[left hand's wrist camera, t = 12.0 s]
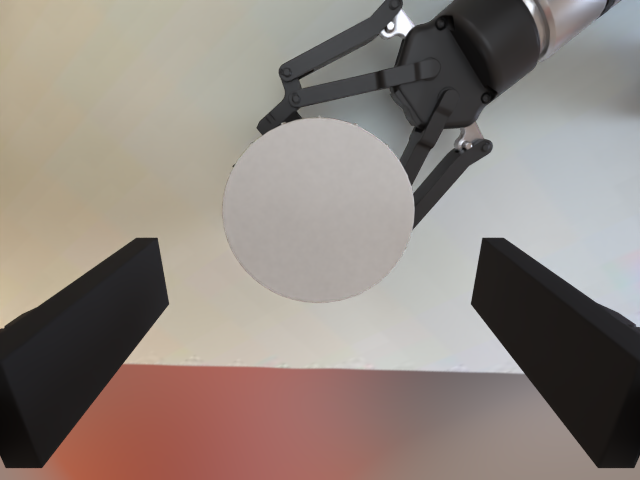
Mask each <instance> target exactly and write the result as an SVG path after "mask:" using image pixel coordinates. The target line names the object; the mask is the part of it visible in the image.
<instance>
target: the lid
mask: <svg viewBox="0 0 640 480" xmlns="http://www.w3.org/2000/svg"><path fill="white" fill-rule="evenodd" d="M414 211H415V209H414V197H413V192H412V188H411V184H410V181H409V179H408V175H407V173H406V172H405V170H404V168H403V166H402V164H401V162H400V161H399V160H398V158H397V157H396V156H395V154H394V153H393V152H392V151H391V150H390V149H389V146H388V145H387V144H385V143H384V142H382V141H381V140H380V139H378V138H377V137H376V136H375V135H373V134H372V133H370V132H368V131H366V130H364V129H363V128H361V127H359V126H358V124H356V123H354V124H351V123H349V122H346V121H342V120H338V119H334V118H324V117H321V116H319V117H314V118H304V119H299V120H294V121H291V122H288V123H286V122H283V123H281V125H280V126H278V127H276V128H274V129H272V130H270V131H268V132H267V133H265V134H264V135H262V136H261V137H260V138H258V139H257V140H256V141H254V142H252V143H250V146H249V147H248V148H247V149H246V150H245V152H244V153H243V154H242V155H241V156H240V158H239V159H238V161H237V162H236V164H235V166H234V167H233V169H232V171H231V172H230V176H229V178H228V181H227V184H226V188H225V191H224V197H223V223H224V229H225V233H226V237H227V240H228V242H229V245H230V247H231V249H232V252H233V253H234V255H235V257H236V258H237V260H238V262H239V263H240V264H241V265H242V267H243V268H244V269H245V270H246V271H247V272H248V273H249V274H250V275H251V276H252V277H253V278H254V279H255V280H256V281H257V282H259V283H260V284H261V285H263V286H264V287H266V288H267V289H269V290H271V291H272V292H275V293H277V294H279V295H281V296H284V297H287V298H290V299H293V300H298V301H303V302H312V303H325V302H334V301H340V300H343V299H347V298H351V297H353V296H356V295H358V294H361V293H362V292H364V291H366V290H368V289H370V288H371V287H373V286H374V285H376V284H377V283H378V282H380V281H381V280H382V279H383V278H384V277H385V276H387V275H388V274H389V273H390V271H391V270H392V269H393V268H394V267H395V266H396V264H397V263H398V261H399V260H400V258H401V257H402V255H403V253H404V251H405V249H406V247H407V245H408V242H409V239H410V236H411V234H412V229H413V223H414Z"/></svg>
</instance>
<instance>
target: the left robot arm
mask: <svg viewBox="0 0 640 480" xmlns="http://www.w3.org/2000/svg"><path fill="white" fill-rule="evenodd" d="M168 305H169V301H168V295H167V289H166V284H165V278H164V272H163V266H162V261H161V255H160V249H159V244H158V238H135V239H134V240H133V241H131V242H130V243H128V244H127V245H125V246H124V247H123V248H121V249H120V250H118V251H117V252H115V253H114V254H113V255H111V256H110V257H108V258H107V259H105V260H104V261H103V262H101V263H100V264H98V265H97V266H95V267H94V268H93V269H91V270H90V271H88V272H87V273H85V274H84V275H83V276H81V277H80V278H78V279H77V280H75V281H74V282H73V283H71V284H70V285H68V286H67V287H65V288H64V289H63V290H61V291H60V292H58V293H57V294H55V295H54V296H53V297H51V298H50V299H48V300H47V301H45V302H44V303H43V304H41V305H40V306H38V307H37V308H34V309H32V310H30V311H28V312H26V313H24V314H22V315H20V316H19V317H17V318H16V319H14V320H13V321H11V322H10V323H8V324H7V325H6V326H5V328H4V329H0V456H1V458H2V460H3V463H4V465H5V467H6V468H42V467H43V466H44V465H45V463H46V462H47V461H48V460H49V458H50V457H51V456H52V454H53V453H54V452H55V451H56V449H57V448H58V447H59V445H60V444H61V443H62V442H63V440H64V439H65V438H66V436H67V435H68V434H69V433H70V431H71V430H72V429H73V427H74V426H75V425H76V423H77V422H78V421H79V420H80V418H81V417H82V416H83V414H84V413H85V412H86V411H87V409H88V408H89V407H90V405H91V404H92V403H93V402H94V400H95V399H96V398H97V396H98V395H99V394H100V392H101V391H102V390H103V389H104V387H105V386H106V385H107V384H108V382H109V381H110V380H111V378H112V377H113V376H114V374H115V373H116V372H117V371H118V369H119V368H120V367H121V365H122V364H123V363H124V362H125V360H126V359H127V358H128V356H129V355H130V354H131V353H132V351H133V350H134V349H135V347H136V346H137V345H138V344H139V342H140V341H141V340H142V338H143V337H144V336H145V335H146V333H147V332H148V331H149V329H150V328H151V327H152V325H153V324H154V323H155V322H156V320H157V319H158V318H159V316H160V315H161V314H162V313H163V311H164V310H165V309H166V307H167V306H168ZM471 305H472V306H473V307H474V309H475V310H476V311H477V313H478V314H479V315H480V316H481V318H482V319H483V320H484V322H485V323H486V324H487V325H488V327H489V328H490V329H491V331H492V332H493V333H494V335H495V336H496V337H497V338H498V340H499V341H500V342H501V344H502V345H503V346H504V347H505V349H506V350H507V351H508V353H509V354H510V355H511V356H512V358H513V359H514V360H515V362H516V363H517V364H518V365H519V367H520V368H521V369H522V371H523V372H524V373H525V374H526V376H527V377H528V378H529V380H530V381H531V382H532V383H533V385H534V386H535V387H536V389H537V390H538V391H539V393H540V394H541V395H542V396H543V398H544V399H545V400H546V402H547V403H548V404H549V405H550V407H551V408H552V409H553V411H554V412H555V413H556V414H557V416H558V417H559V418H560V420H561V421H562V422H563V423H564V425H565V426H566V427H567V429H568V430H569V431H570V433H571V434H572V435H573V436H574V438H575V439H576V440H577V442H578V443H579V444H580V445H581V447H582V448H583V449H584V450H585V452H586V453H587V454H588V456H589V457H590V458H591V460H592V461H593V462H594V463H595V465H596V466H597V467H598V468H634V467H635V465H636V463H637V460H638V458H639V456H640V327H636V324H634V323H633V322H631V321H630V320H628V319H627V318H625V317H624V316H622V315H621V314H619V313H618V312H615V311H613V310H611V309H609V308H607V307H604V306H602V305H600V304H598V303H596V302H595V301H593V300H592V299H590V298H589V297H587V296H586V295H585V294H583V293H582V292H580V291H579V290H577V289H576V288H575V287H573V286H572V285H570V284H569V283H567V282H566V281H565V280H563V279H562V278H560V277H559V276H557V275H556V274H555V273H553V272H552V271H550V270H549V269H547V268H546V267H545V266H543V265H542V264H540V263H539V262H537V261H536V260H535V259H533V258H532V257H530V256H529V255H527V254H526V253H525V252H523V251H522V250H520V249H519V248H517V247H516V246H515V245H513V244H512V243H510V242H509V241H507V240H506V239H505V238H482V244H481V249H480V255H479V261H478V266H477V272H476V278H475V284H474V289H473V295H472V301H471Z"/></svg>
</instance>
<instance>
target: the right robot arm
mask: <svg viewBox="0 0 640 480" xmlns="http://www.w3.org/2000/svg"><path fill="white" fill-rule="evenodd" d="M620 1H621V0H454V1H453V2H452V3H451V4H450V5H448V6H447V7H446V8H445V9H444V10H443V11H442V12H440V13H439V14H438V15H437V16H436V17H435V18H434V19H432V20H431V21H430V22H428V23H425V24H420V25H417V26H415V24H414V23H413V22H412V21H411V19H410V18H409V17H408V16H407V14H406V13H405V12H404V11H403V9H402V5H403V2H402V0H385V1H384V2H383V4H382V5H381V6H380V7H379V8H378V9H377V10H376V11H375V13H374V14H373V15H372V16H371V17H370V18H368V19H366V20H364V21H362V22H361V23H359V24H357V25H355V26H353V27H351V28H349V29H348V30H346V31H344V32H342V33H340V34H338V35H336V36H335V37H333V38H331V39H329V40H327V41H325V42H323V43H322V44H320V45H318V46H316V47H314V48H312V49H310V50H308V51H307V52H305V53H303V54H301V55H299V56H297V57H295V58H294V59H292V60H290V61H288V62H286V63H284V64H283V65H282V66H280V68H279V76H280V78H281V80H282V83H283V86H284V89H285V97H284V99H283V100H282V101H281V102H280V103H279V104H278V105H277V106H276V107H275V108H274V109H273V110H272V111H271V112H269V113H268V114H267V115H266V116H265V117H264V118H263V119H262V120H261V121H260V122H259V124H258V126H257V129H258V130H259V132H260V133H261V134H262V135H264V134H265V133H267V132H268V131H270V130H272V129H274V128H276V127H278V126H280V125H281V123H283V122H286V123H288V122H291V121H294V120H299V119H302V118H301V116H300V115H299V114H298V112H297V110H298V109H299V108H300V107H304V106H309V105H313V104H318V103H322V102H327V101H331V100H336V99H340V98H345V97H349V96H354V95H358V94H363V93H367V92H372V91H376V90H381V89H385V88H390V92H391V93H390V95H391V97H392V98H393V100H394V101H395V102H396V103H397V104H398V105H400V106H401V107H402V108H403V110H404V113H405V116H406V118H407V120H408V121H409V123H410V124H411V125H413V126H415V127H414V129H413V131H412V133H411V135H410V138H409V142H408V145H407V147H406V149H405V151H404V153H403V155H402V157H401V159H400V162H401V164H402V166H403V168H404V170H405V172H406V173H407V175H408V179H409V181H410V184H411V186H412V184H413V182H414V180H415V178H416V176H417V174H418V172H419V170H420V168H421V166H422V164H423V162H424V161H425V159H426V157H427V155H428V153H429V151H430V150H431V149H432V148H433V147H434V145H435V144H436V142H437V140H438V138H439V136H440V134H441V132H442V130H443V129H453V128H460V130H461V133H460V135H459V137H458V138H457V139H456V140H455V142H454V149H453V150H451V151H450V152H449V153H448V154H447V155H446V156H445V157H444V158H443V159H442V161H441V162H440V163H439V164H438V165H437V166H436V168H435V169H434V170H433V171H432V172H431V173H430V175H429V176H428V177H427V178H426V179H425V181H424V182H423V183H422V184H421V185H420V186H419V188H418V189H417V190H416V191H415V192H414V194H413V197H414V209H415V211H414V223H413V229H414V228H415V227H416V225H417V224H418V223H419V222H420V221H421V220H422V219H423V217H424V216H425V215H426V214H427V213H428V212H429V211H430V210H431V208H432V207H433V206H434V205H435V204H436V203H437V202H438V200H439V199H440V198H441V197H442V196H443V195H444V194H445V192H446V191H447V190H448V189H449V188H450V187H451V186H452V184H453V183H454V182H455V181H456V180H457V179H458V178H459V177H460V175H461V174H462V173H463V172H464V171H465V170H466V169H467V167H468V166H469V165H471V164H473V163H474V162H476V161H478V160H479V159H481V158H483V157H484V156H486V155H487V154H489V153H490V152H491V150H492V148H493V145H492V142H491V141H489V140H486V139H484V138H483V136H482V134H481V132H480V130H479V128H478V125H477V123H476V120H477V118H478V117H479V114H480V113H481V111H482V110H483V108H484V107H485V106H486V105H487V104H489V103H490V102H491V101H493V100H494V99H495V98H497V97H498V96H499V95H501V94H502V93H503V92H504V91H506V90H507V89H508V88H510V87H511V86H512V85H513V84H515V83H516V82H517V81H519V80H520V79H521V78H522V77H524V76H525V75H526V74H528V73H529V72H530V71H531V70H532V69H534V67H535V66H536V64H537V62H540V61H544V60H545V59H547V58H548V57H550V56H551V55H552V54H554V53H555V52H556V51H557V50H559V49H560V48H561V47H562V46H564V45H565V44H566V43H567V42H569V41H570V40H571V39H572V38H574V37H575V36H576V35H577V34H579V33H580V32H581V31H582V30H584V29H585V28H586V27H587V26H589V25H590V24H591V23H593V22H594V21H595V20H596V19H598V18H599V17H600V16H602V15H603V14H604V13H606V12H607V11H608V10H609V9H610V8H612V7H613V6H614V5H616V4H617V3H618V2H620ZM378 35H379V36H380V37H381V38H382V39H384V40H387V39H390V38H392V37H393V36H399V37H401V38H402V39H403V40H402V43H401V46H400V49H399V53H398V56H397V59H396V62H395V66H394V68H390V69H385V70H381V71H378V72H374V73H369V74H365V75H361V76H356V77H352V78H347V79H343V80H338V81H334V82H330V83H325V84H321V85H316V86H312V87H307V88H303V89H302V88H301V85H300V82H299V79H301V78H303V77H305V76H307V75H309V74H311V73H313V72H314V71H316V70H318V69H320V68H322V67H324V66H326V65H328V64H330V63H332V62H333V61H335V60H337V59H339V58H341V57H343V56H345V55H347V54H349V53H351V52H352V51H354V50H356V49H358V48H360V47H362V46H364V45H366V44H367V43H369V42H371V41H372V40H373V39H375V38H376V37H377V36H378ZM234 166H235V165H233V167H234ZM413 229H412V230H413Z"/></svg>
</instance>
